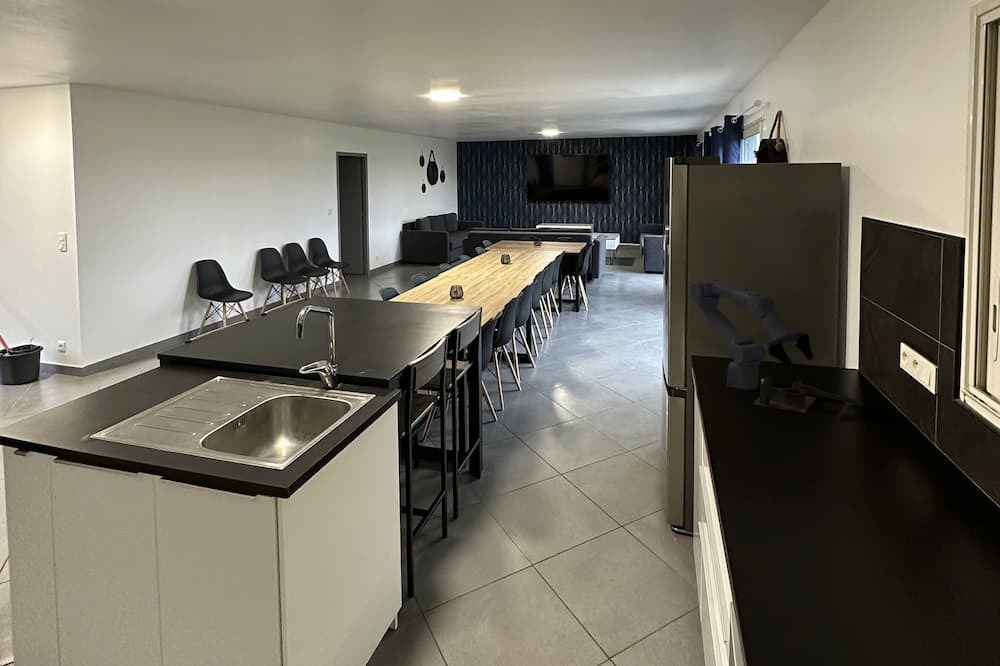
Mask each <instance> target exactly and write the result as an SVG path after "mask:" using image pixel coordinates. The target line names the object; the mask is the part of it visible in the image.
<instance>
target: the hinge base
mask: <svg viewBox="0 0 1000 666" xmlns="http://www.w3.org/2000/svg"><path fill="white" fill-rule="evenodd" d="M802 384H803V383H801V385H802ZM759 399H760V396H759V397H758V398H757V399H756V400H755V401H753V402H752V405H756V406H762V407H763V406H764V407H770V408H774V409H781V410H785V411H792V412H796V413H797V412H798V413H806V411H808V409H809V408H810V407H811V406H812V405H813V403H815V401H816V400H817V397H815V396H808V395H807V394H806V391H804V390H802V389H801V386H796V387H795V388H792V387H782V388H780V387H779V388H778V387H774V386H771V393H770V404H769V405H761V404H759Z"/></svg>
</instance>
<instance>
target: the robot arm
mask: <svg viewBox="0 0 1000 666" xmlns="http://www.w3.org/2000/svg"><path fill="white" fill-rule="evenodd" d="M689 294H690V298H691V300H693V301H694V303H695V304H696V306H697V308H698V311H699V312H700V314H701V315H702V317H704V319H705V320H706V321H707V322H708V323H709V324H710V325H711V326H712V328H713V329H715V330H716V331H717V333H718V334H719V336H720V337H722V339H723V340H724V341H726V343H727V344H728V345H729V347H728V349H727V352H729V354H730V356H731V358H732V360H733V361H730V362H729V364H728V368H727V374H726V375H727V379H726V387H730V388H736V389H739V390H746V391H753V390H757V389H758V384H759V383H758V382H759V371H760V365H761V364H762V361H763V360H764V359H765V357H766V351H768V354H769V356H770V357H771V356H772V357H774V358H775V359H777V360H778V361H780V362H781V363H782V364H783V365H784V366H786V367H787V368H790V366H792V364H793V362H792V360H791V358H790V357H789V356H788V354H787V353H786V351H785V349H784V346H783V345H786V344H789V343H792V342H795V341H796V344H795V345H794V346H795V347H796V348H798V350H800V351H801V352H802V353H803V354H804V356H805V358H806V359H807V360H808V361H812V359H813V358H814V354H813V352H812V348H811V346H810V337H809V336H810V335H809V334H808V332H807V331H806V329H802V330H800V331H799V330H797V331H792V329H790V327H789V326H788V325H787V324H786V322H785V321H784V319H783V318H782V317H781V315H780V314H779V312H778V311H777V309H776V308H775V300H774V298H773V297H772V296H770V295H769V294H763V295H761V294H760V293H759V292H756V291H755V292H754V291H751V290H749V288H747V287H741V288H738V289H736V288H734V287H731V286H729V285H727V284H725V283H723V282H722V281H721V280H717V279H711V280H702V281H693V282H692V283H691V284H690V289H689ZM721 296H722V297H726V298H727V299H731V300H732V301H733V304H735V305H737V306H739V307H741V308H744V309H747V310H748V313H750V314H751V315H754V316H755V317H756V319H758V320H759V321H760V322H761V324H762V325H763V326H764V329H765V330H766V331H767V333H768V334H769V335H770V336H771V338H772V339H771V340H769V341H766V342H764V344H761V343H760V342H757V341H755V339H753V338H750V337H748V336H745V335H744V334H743V333H742V332H741V331H740V330H739V329H738V328H737V327H736V325H734V324H733V323H732V321H731V320H730V319H729V318H728V317H727V316H726V315H725V314H724V313H723V312H722V310H720V309H719V307H718V306H719V304H720V299H721Z"/></svg>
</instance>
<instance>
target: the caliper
mask: <svg viewBox="0 0 1000 666" xmlns="http://www.w3.org/2000/svg"><path fill="white" fill-rule="evenodd" d="M801 384H802V385H801ZM796 386H801V389H802V390H804V391H806V395H807V396H810V397H816V396H817V395H818V396H821V397H824V398H828V399H831V400H832V399H833V400H837V401H840V402H844V403H847V404H848V403H849V404H851V405H856V406H858V405H863V404H864V403H863V402H862V401H860V400H859V399H855V398H852V397H848V396H844V395H841V394H836V393H833V392H828V391H824V390H821V389H818V388H817V387H814V386H810V385H805V384H803V383H802V380H800V381H799V380H798V379H797V380H796V381H795V382H793V383H792V387H791V388H795V387H796Z"/></svg>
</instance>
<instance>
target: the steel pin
mask: <svg viewBox="0 0 1000 666" xmlns="http://www.w3.org/2000/svg"><path fill="white" fill-rule="evenodd" d="M771 387H772V378H770V377H761V378H760V388H759V389H760V390H759V397H760V399H759V404H761V405H760V406H762V405H769V404H770V393H771Z"/></svg>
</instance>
